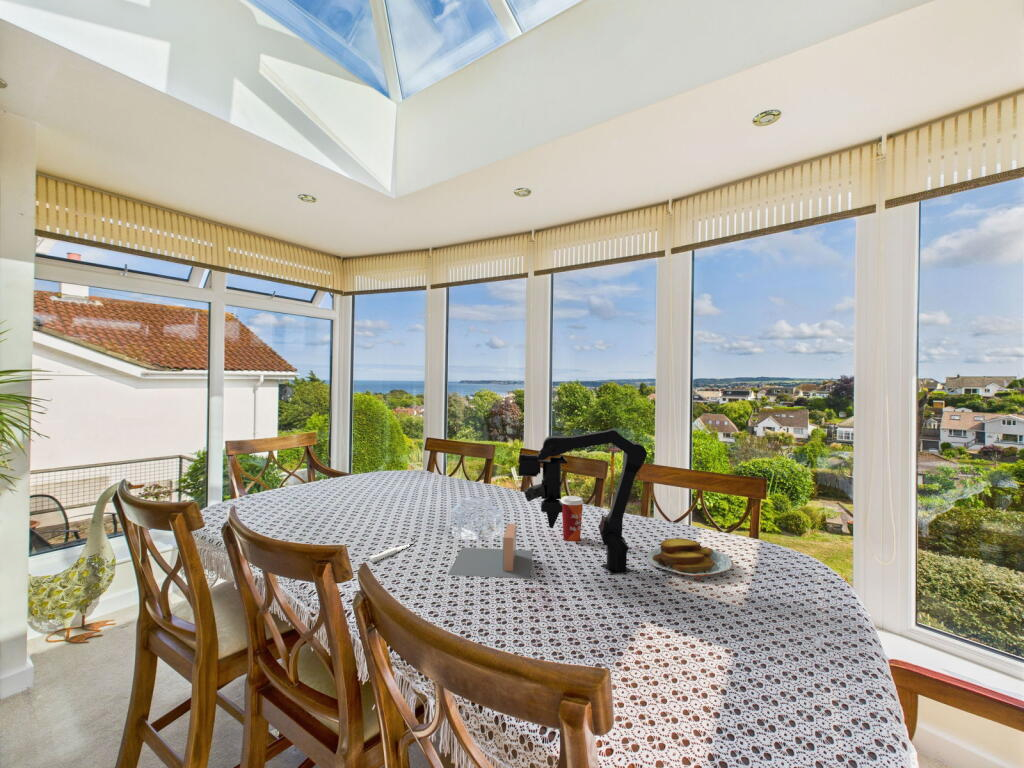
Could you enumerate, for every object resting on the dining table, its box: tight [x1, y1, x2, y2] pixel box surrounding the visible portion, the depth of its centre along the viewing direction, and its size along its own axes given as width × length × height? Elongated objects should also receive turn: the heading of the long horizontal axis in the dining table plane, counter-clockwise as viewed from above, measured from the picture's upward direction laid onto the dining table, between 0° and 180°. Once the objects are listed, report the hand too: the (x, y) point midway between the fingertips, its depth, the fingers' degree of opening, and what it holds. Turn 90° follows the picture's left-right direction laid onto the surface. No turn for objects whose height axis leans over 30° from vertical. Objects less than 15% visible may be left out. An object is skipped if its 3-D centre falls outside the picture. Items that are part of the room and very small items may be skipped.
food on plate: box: [645, 537, 734, 582], centre depth 143 cm, size 25×25×7 cm
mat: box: [447, 547, 534, 580], centre depth 141 cm, size 24×22×1 cm
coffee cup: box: [560, 495, 585, 543], centre depth 165 cm, size 8×8×15 cm
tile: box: [502, 523, 517, 571], centre depth 141 cm, size 3×13×10 cm, turn 175°
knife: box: [369, 544, 411, 563], centre depth 155 cm, size 31×6×2 cm, turn 161°
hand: (551, 527), depth 140 cm, fingers closed
